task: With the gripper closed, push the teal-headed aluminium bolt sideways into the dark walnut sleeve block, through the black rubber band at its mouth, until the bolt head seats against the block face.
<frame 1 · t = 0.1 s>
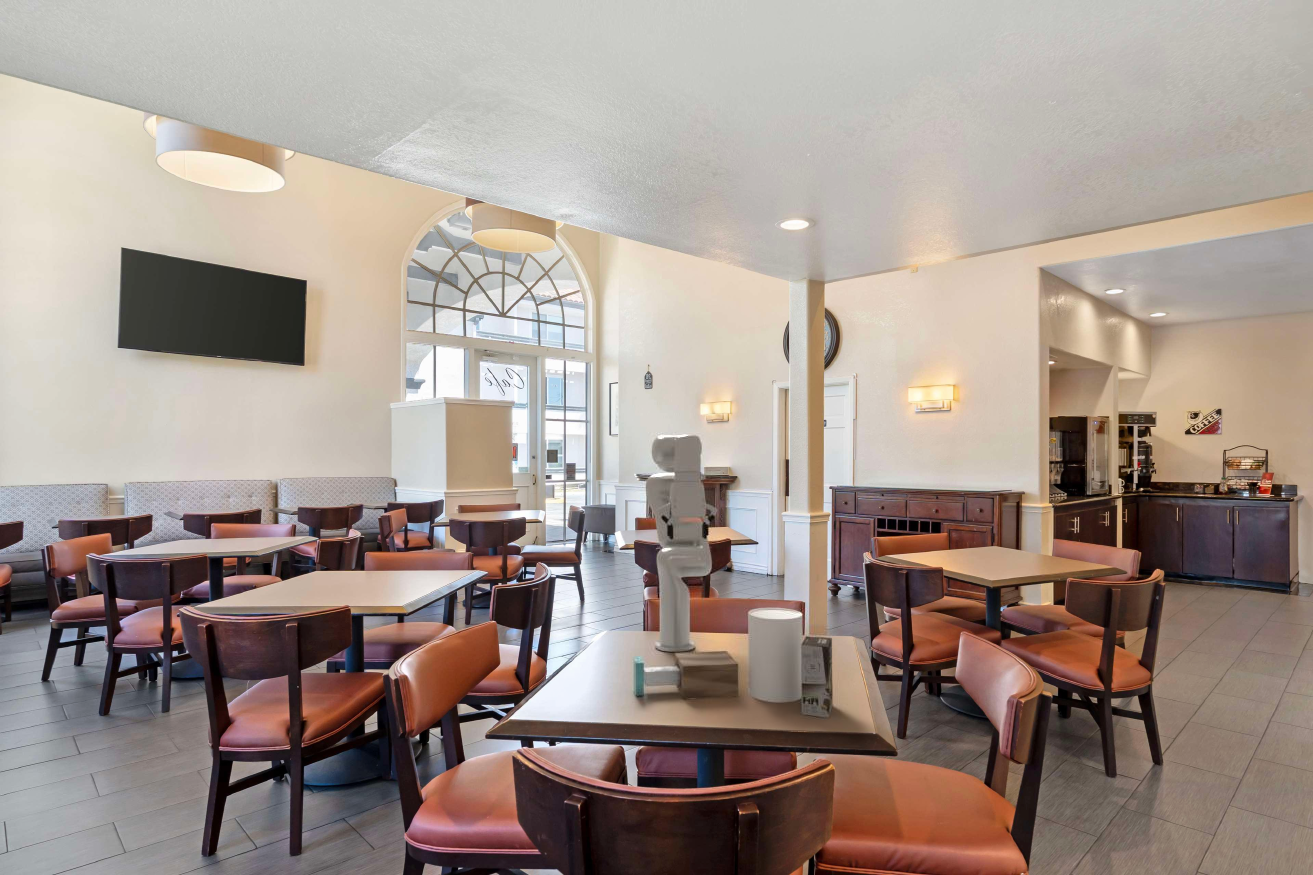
hand: (687, 538, 195), 37 cm above the table, tool pointing down, fingers open, 9 cm apart
sleeve block: (705, 689, 176), on the table
coffee box: (817, 710, 161), on the table
peg: (662, 674, 175), point 4 cm above the table, slide at 9.0 cm
canister: (775, 693, 173), on the table
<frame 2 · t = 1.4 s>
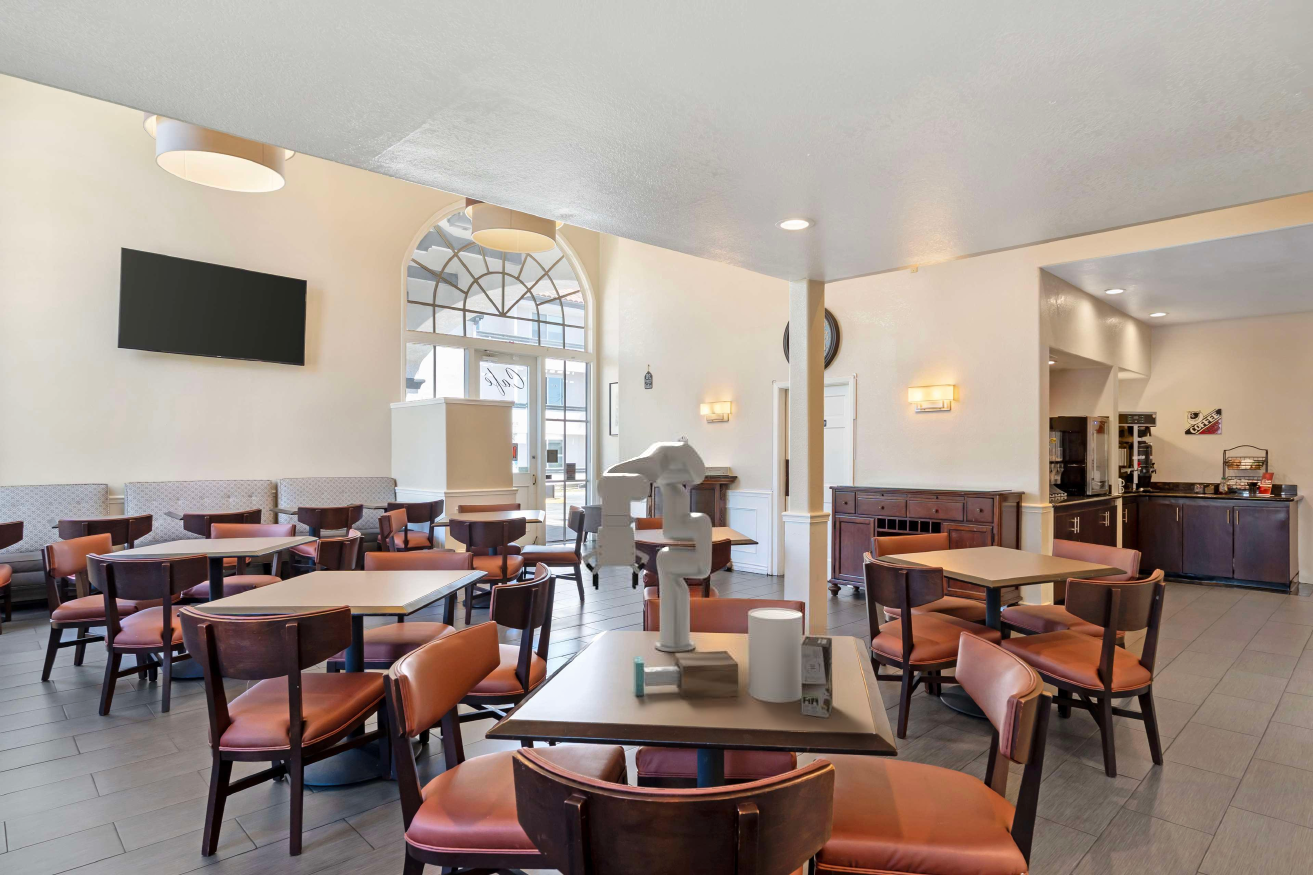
hand: (615, 588, 177), 26 cm above the table, tool pointing down, fingers open, 9 cm apart
nothing on the table moved.
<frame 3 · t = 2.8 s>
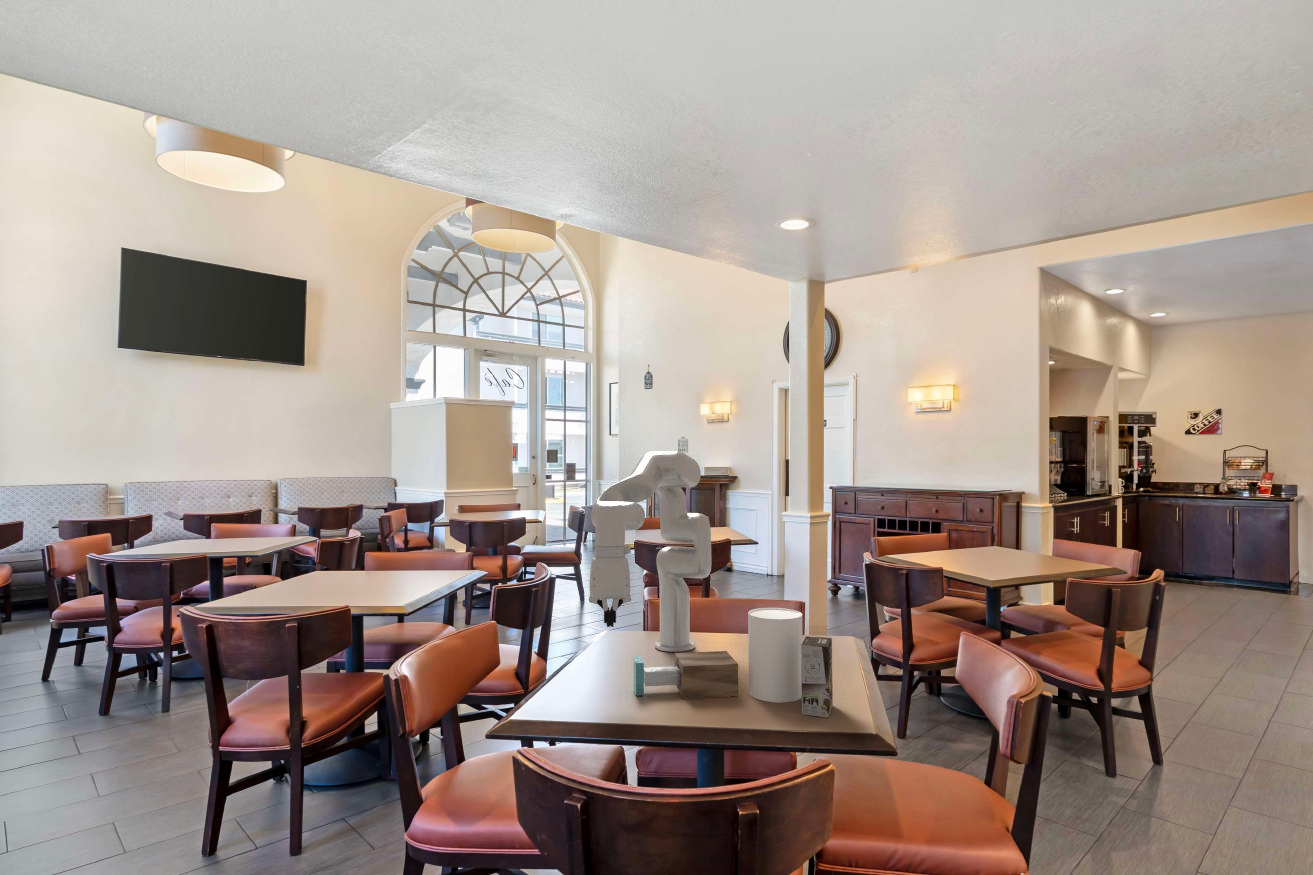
hand: (609, 625, 173), 17 cm above the table, tool pointing down, fingers closed
nothing on the table moved.
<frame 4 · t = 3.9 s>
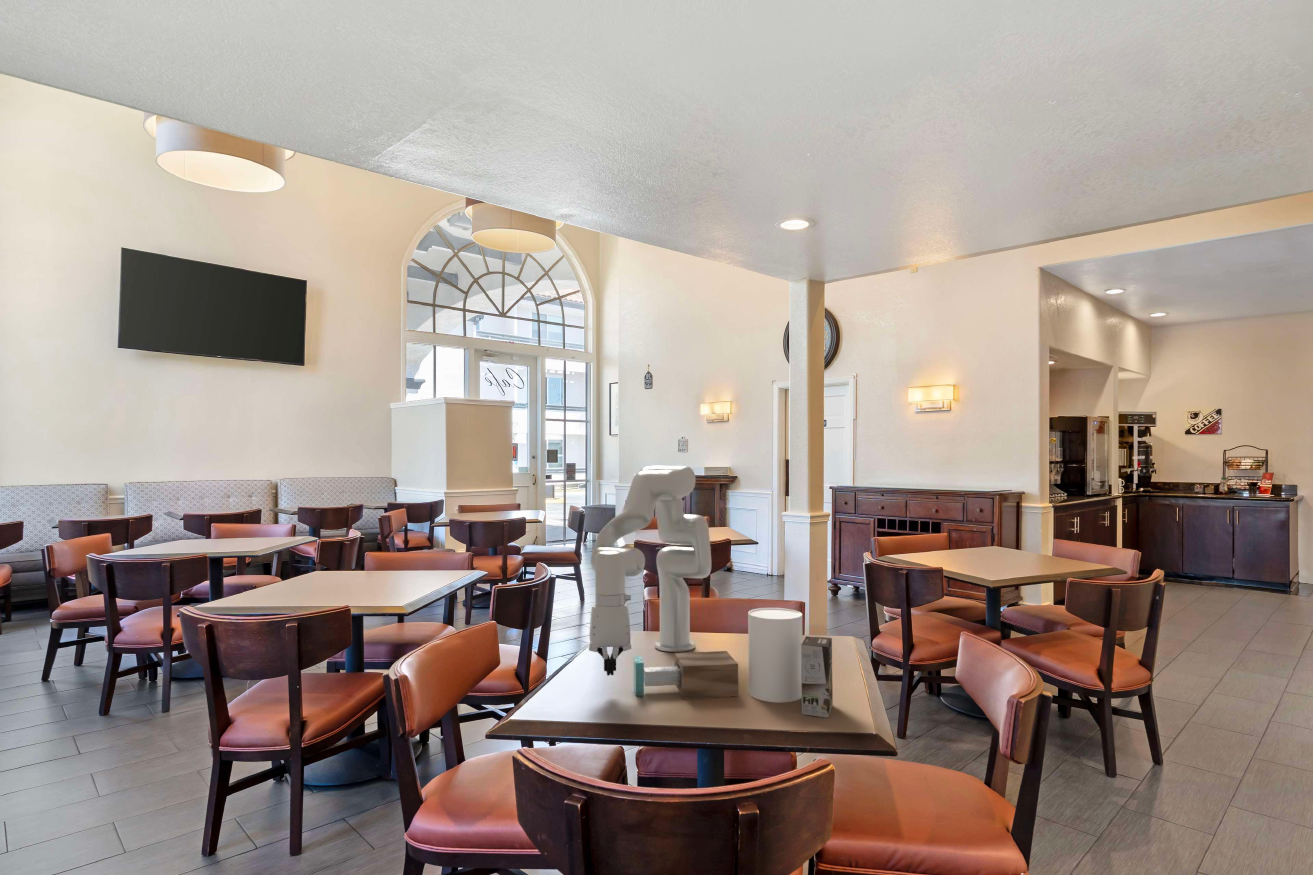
hand: (610, 673, 173), 5 cm above the table, tool pointing down, fingers closed
nothing on the table moved.
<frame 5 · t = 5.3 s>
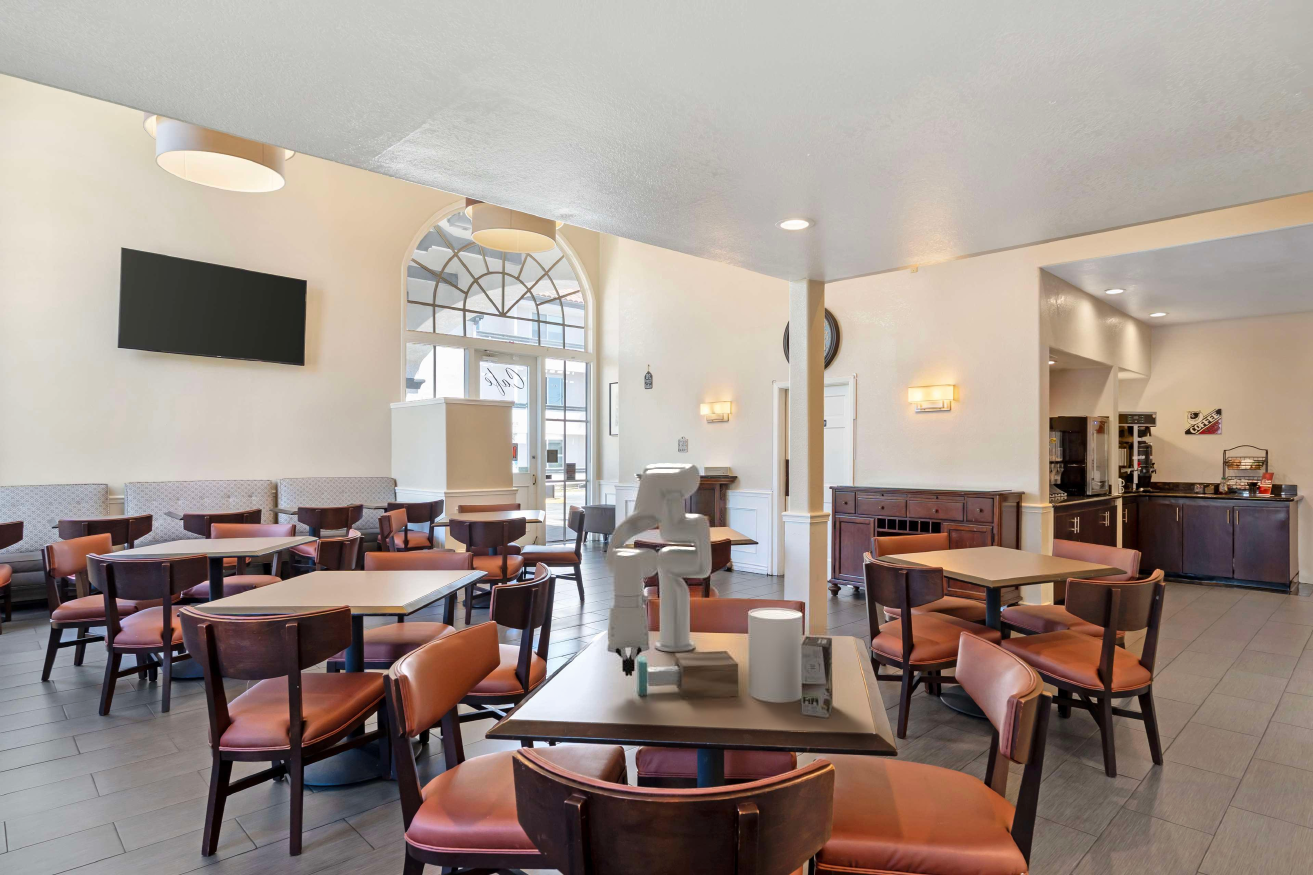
hand: (628, 674, 173), 5 cm above the table, tool pointing down, fingers closed
peg: (665, 674, 175), point 4 cm above the table, slide at 8.2 cm, touching gripper
everything else where it was.
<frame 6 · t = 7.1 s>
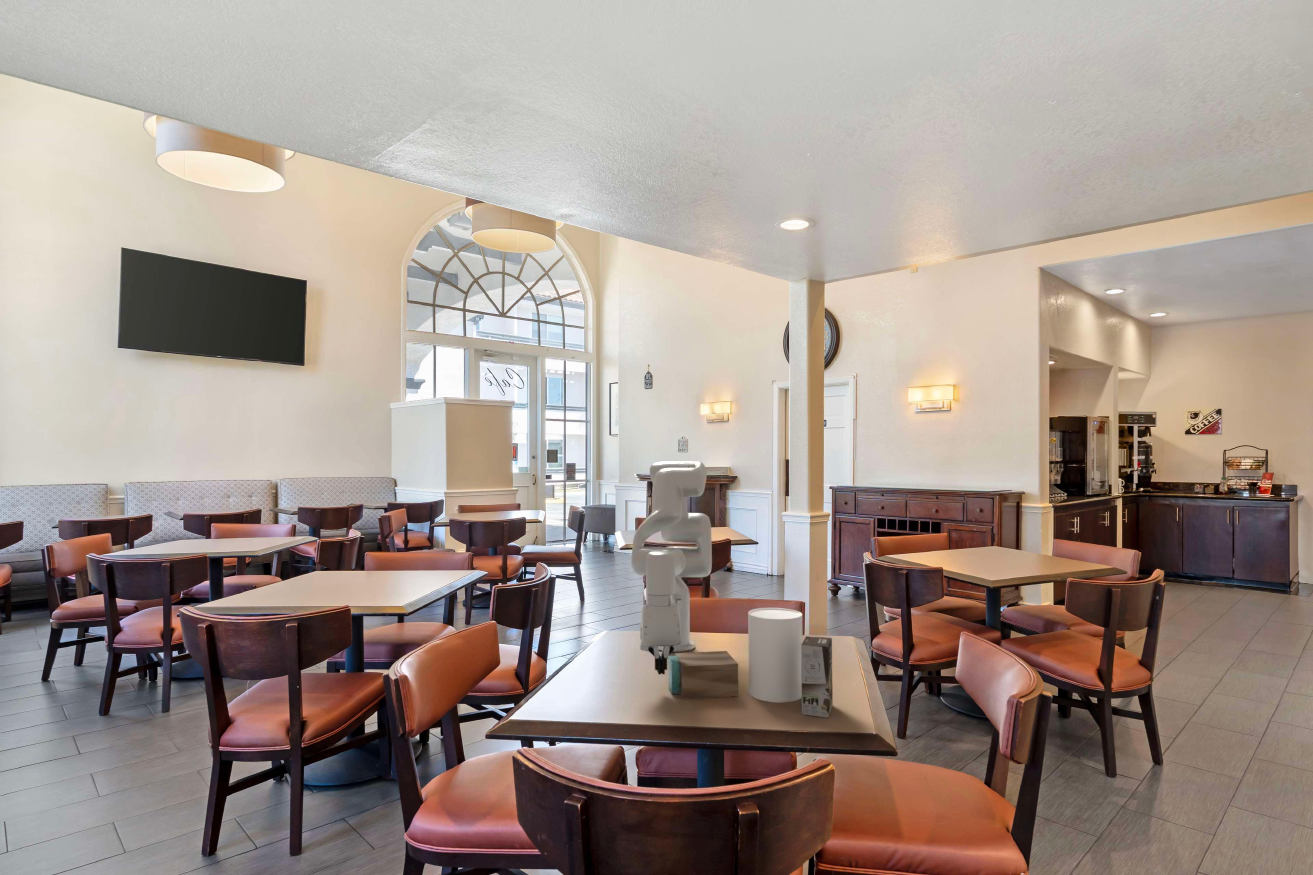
hand: (660, 672, 175), 5 cm above the table, tool pointing down, fingers closed
peg: (697, 673, 176), point 4 cm above the table, slide at -0.1 cm, touching gripper
everything else where it was.
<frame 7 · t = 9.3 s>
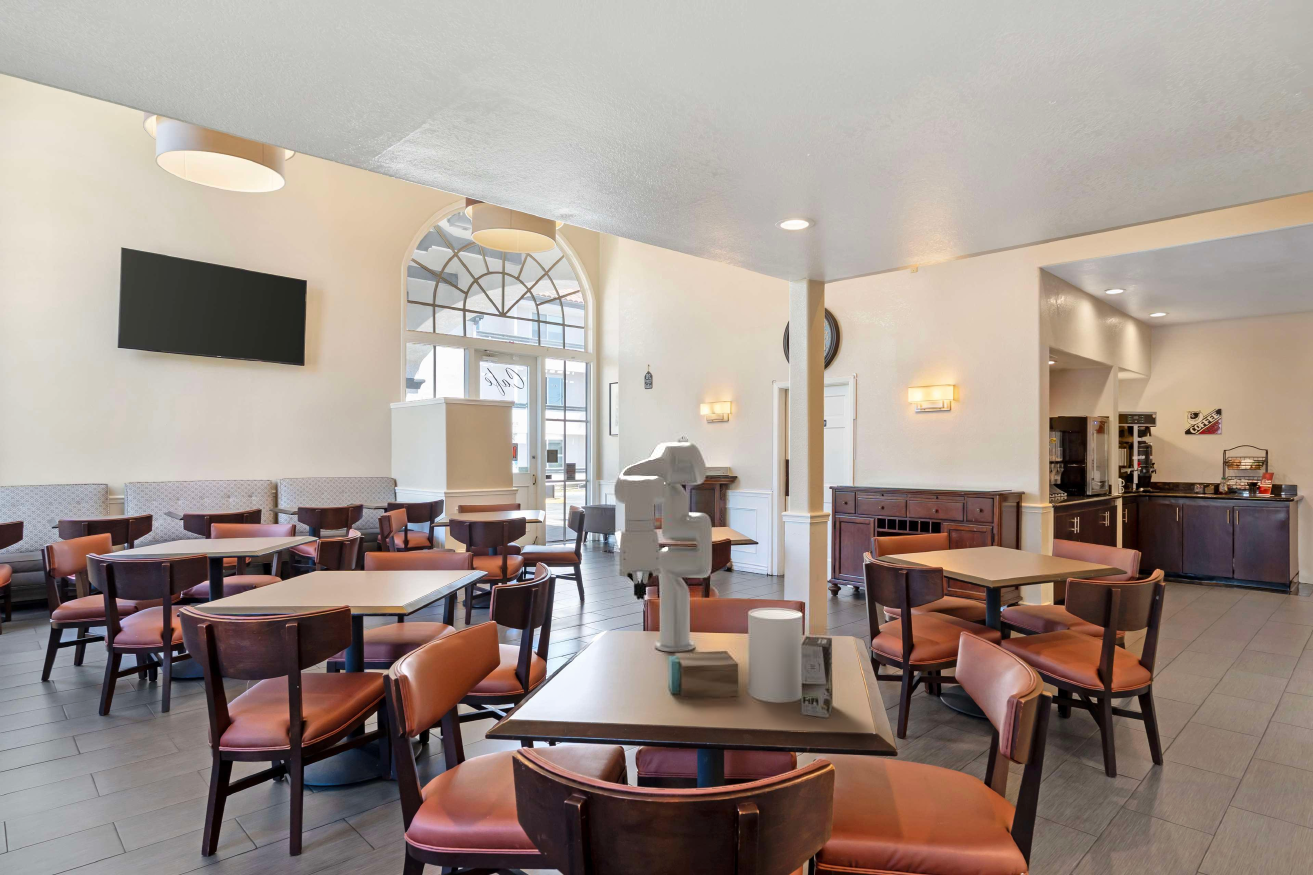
hand: (640, 598, 175), 24 cm above the table, tool pointing down, fingers closed
peg: (697, 673, 176), point 4 cm above the table, slide at 0.0 cm
everything else where it was.
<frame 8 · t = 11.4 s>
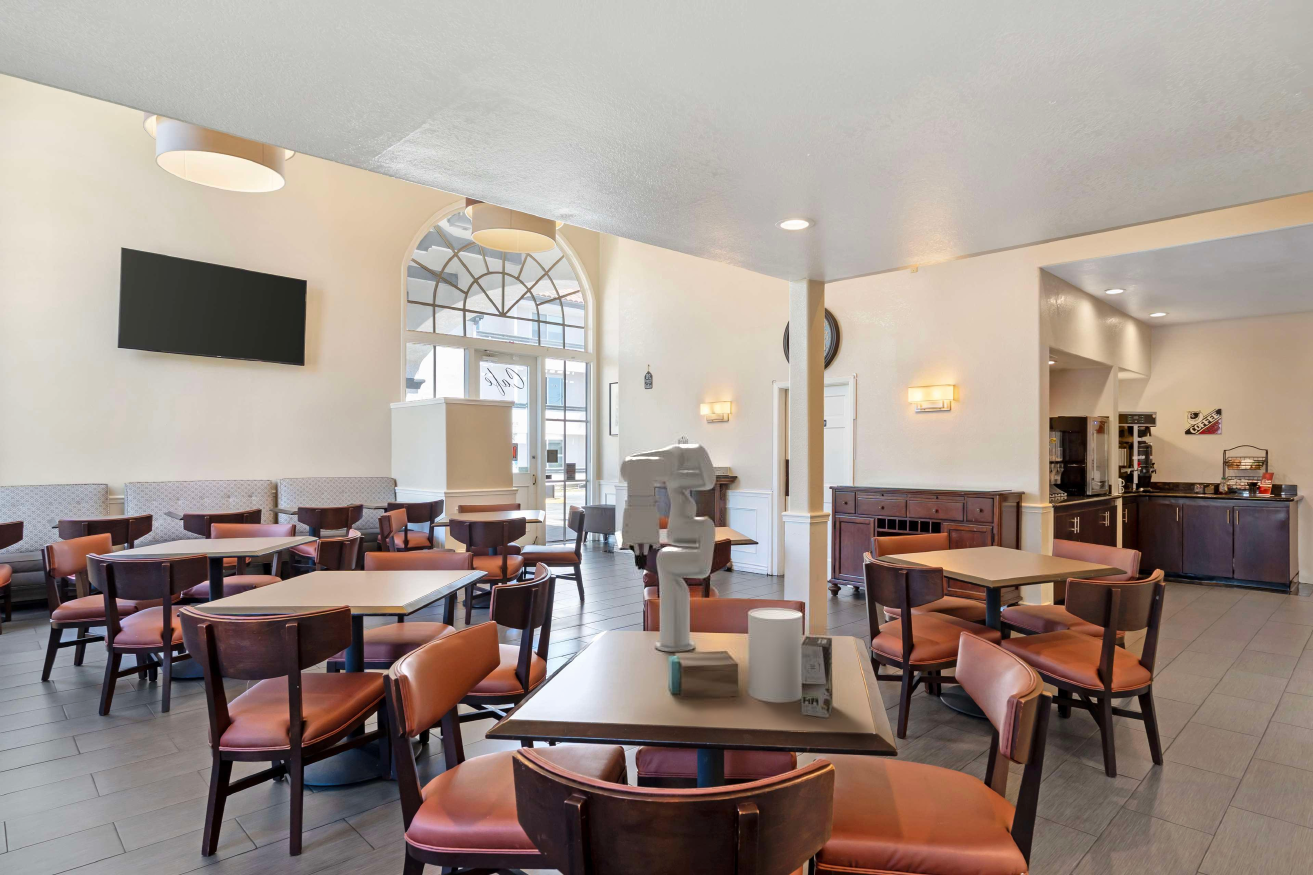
hand: (641, 568, 189), 29 cm above the table, tool pointing down, fingers closed
nothing on the table moved.
at the end: peg slide at 0.0 cm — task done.
